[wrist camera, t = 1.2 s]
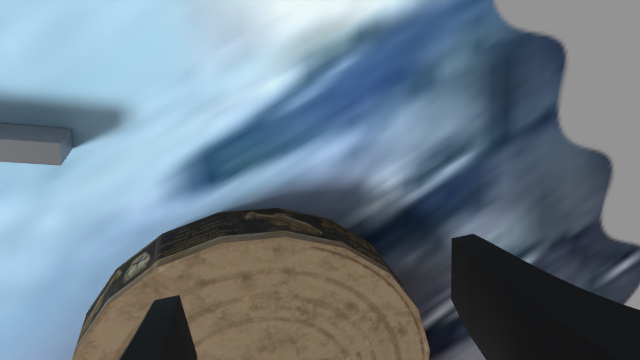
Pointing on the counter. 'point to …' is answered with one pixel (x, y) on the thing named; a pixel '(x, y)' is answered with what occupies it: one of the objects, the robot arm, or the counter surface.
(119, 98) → the counter surface
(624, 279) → the counter surface
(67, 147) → the tray frame
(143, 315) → the wood slice coaster
